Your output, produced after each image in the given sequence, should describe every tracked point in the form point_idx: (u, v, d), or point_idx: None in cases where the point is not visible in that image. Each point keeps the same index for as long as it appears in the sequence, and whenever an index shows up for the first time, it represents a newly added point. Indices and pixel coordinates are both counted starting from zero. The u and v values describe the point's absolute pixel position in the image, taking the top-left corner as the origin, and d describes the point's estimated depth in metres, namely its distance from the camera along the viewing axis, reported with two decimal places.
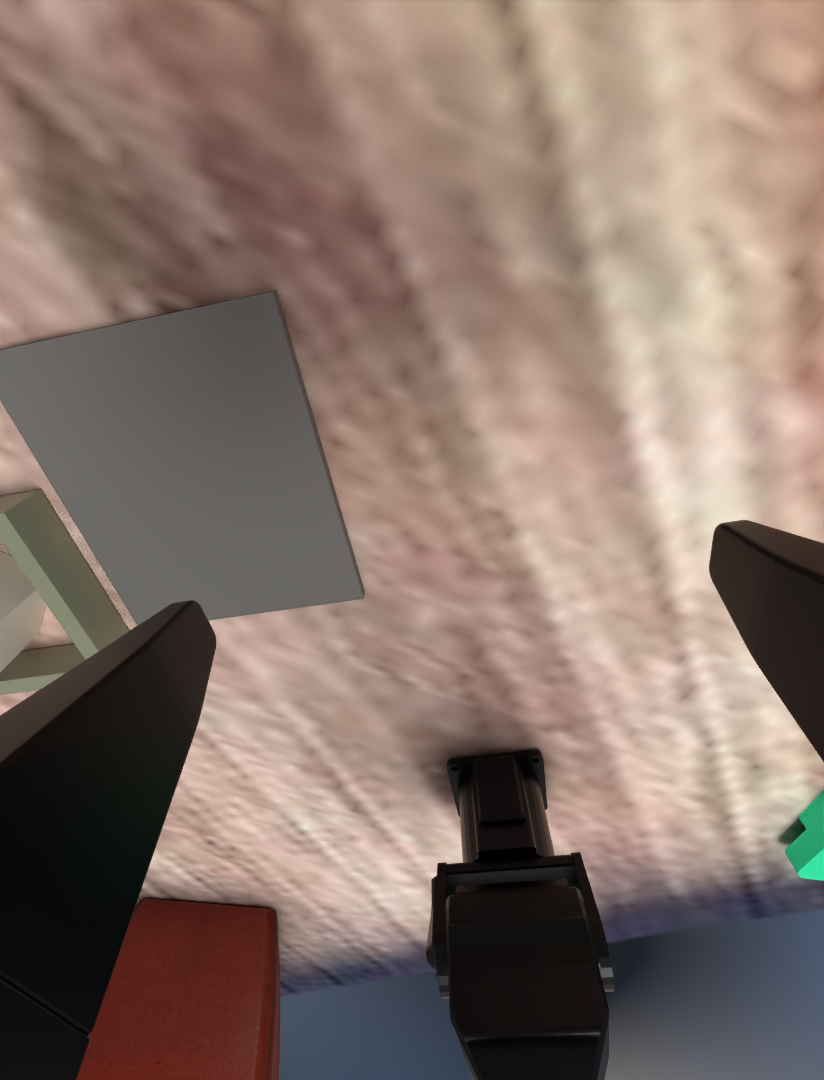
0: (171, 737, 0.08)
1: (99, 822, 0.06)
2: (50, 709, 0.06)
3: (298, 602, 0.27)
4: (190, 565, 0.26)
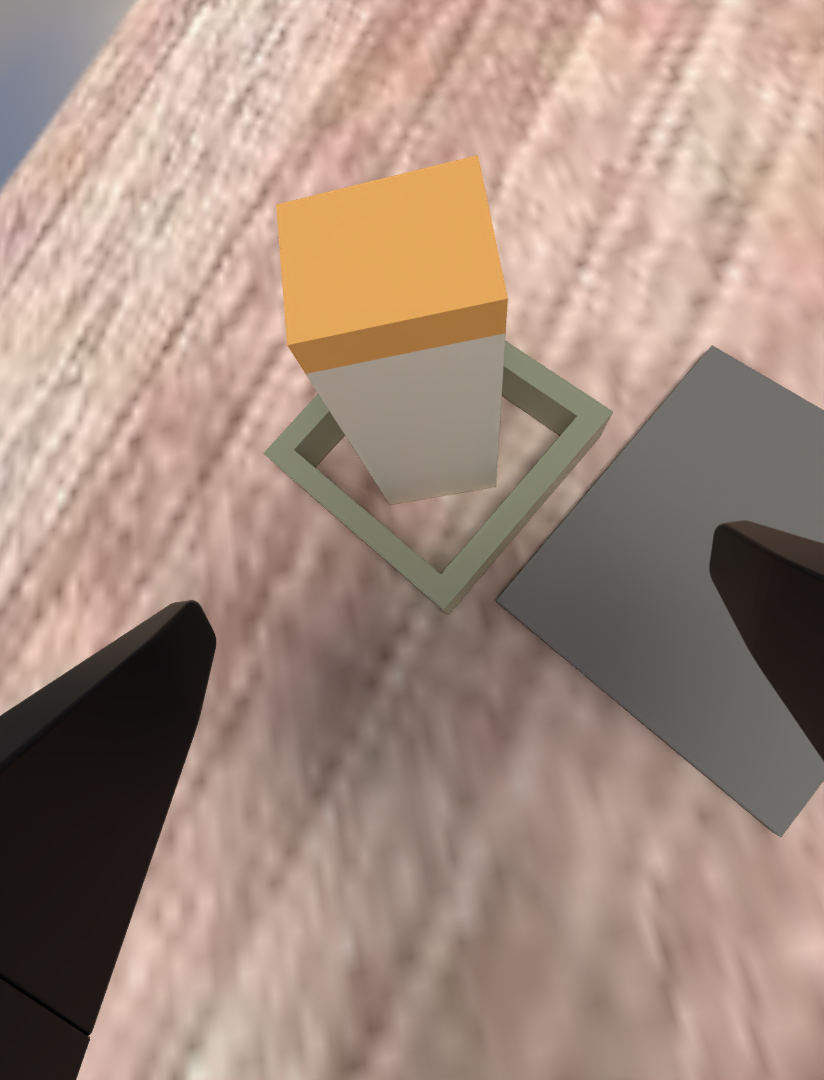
0: (171, 737, 0.08)
1: (99, 822, 0.06)
2: (50, 709, 0.06)
3: (700, 757, 0.19)
4: (644, 607, 0.20)
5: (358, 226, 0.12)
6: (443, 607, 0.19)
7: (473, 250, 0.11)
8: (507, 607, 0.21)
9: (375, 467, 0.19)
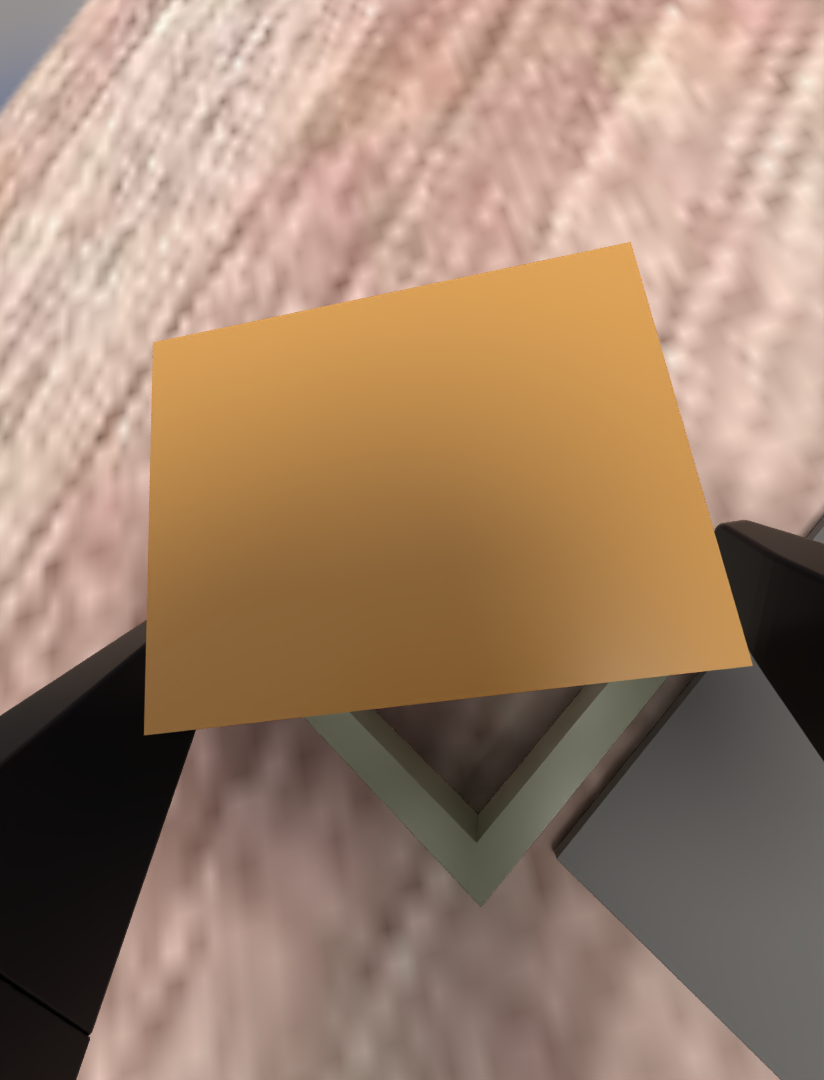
0: (171, 737, 0.08)
1: (99, 822, 0.06)
2: (50, 709, 0.06)
3: None
4: (790, 891, 0.13)
5: (337, 410, 0.05)
6: (480, 902, 0.12)
7: (638, 502, 0.04)
8: (574, 872, 0.14)
9: None
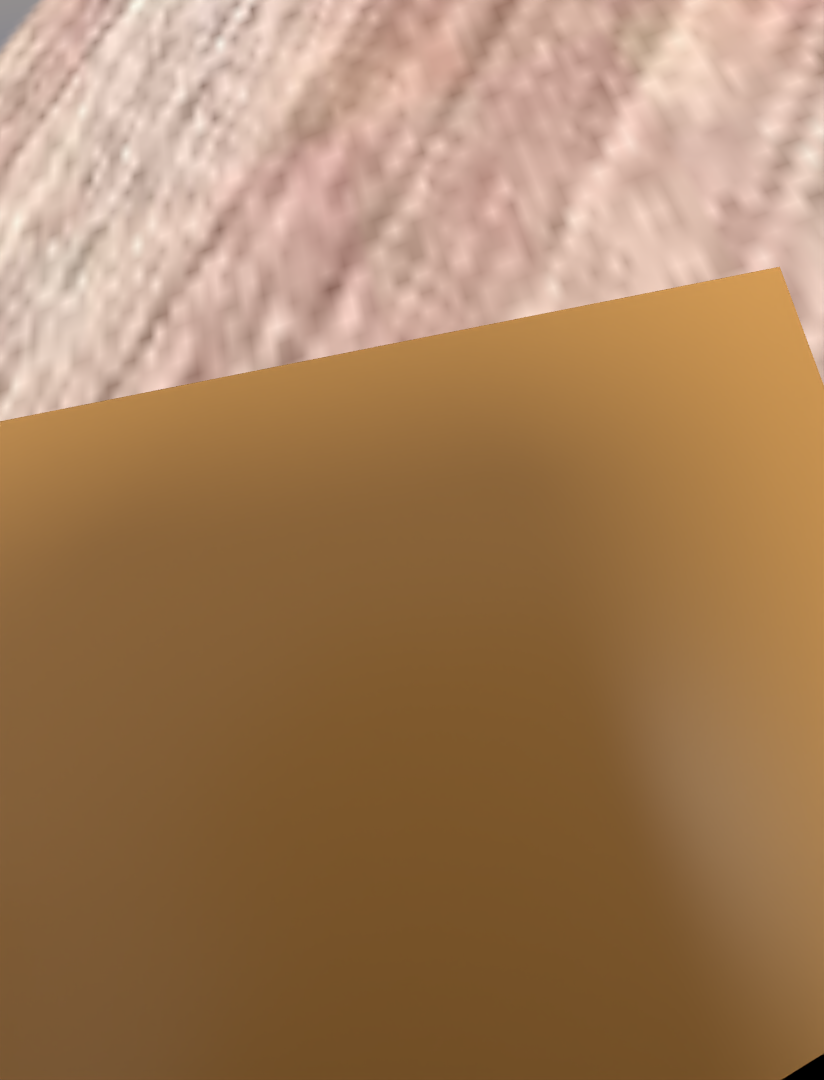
0: None
1: None
2: None
3: None
4: None
5: (283, 552, 0.03)
6: None
7: None
8: None
9: None
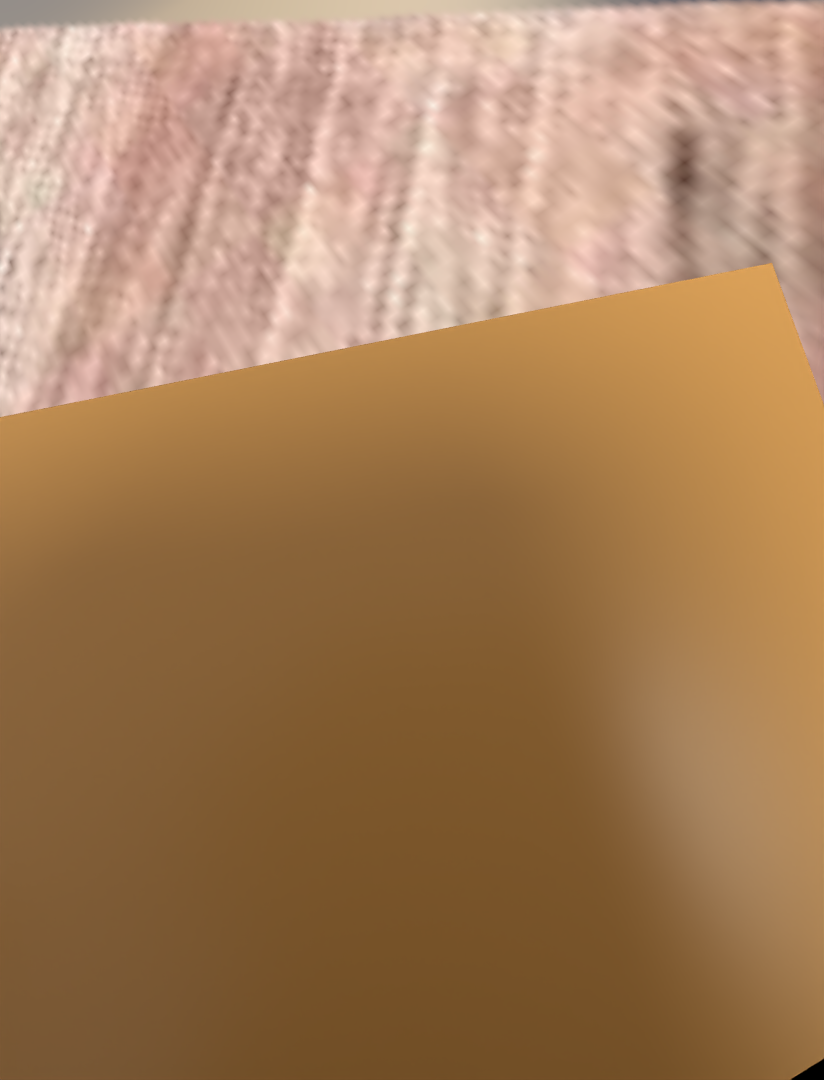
0: None
1: None
2: None
3: None
4: None
5: (278, 547, 0.03)
6: None
7: (822, 756, 0.02)
8: None
9: None
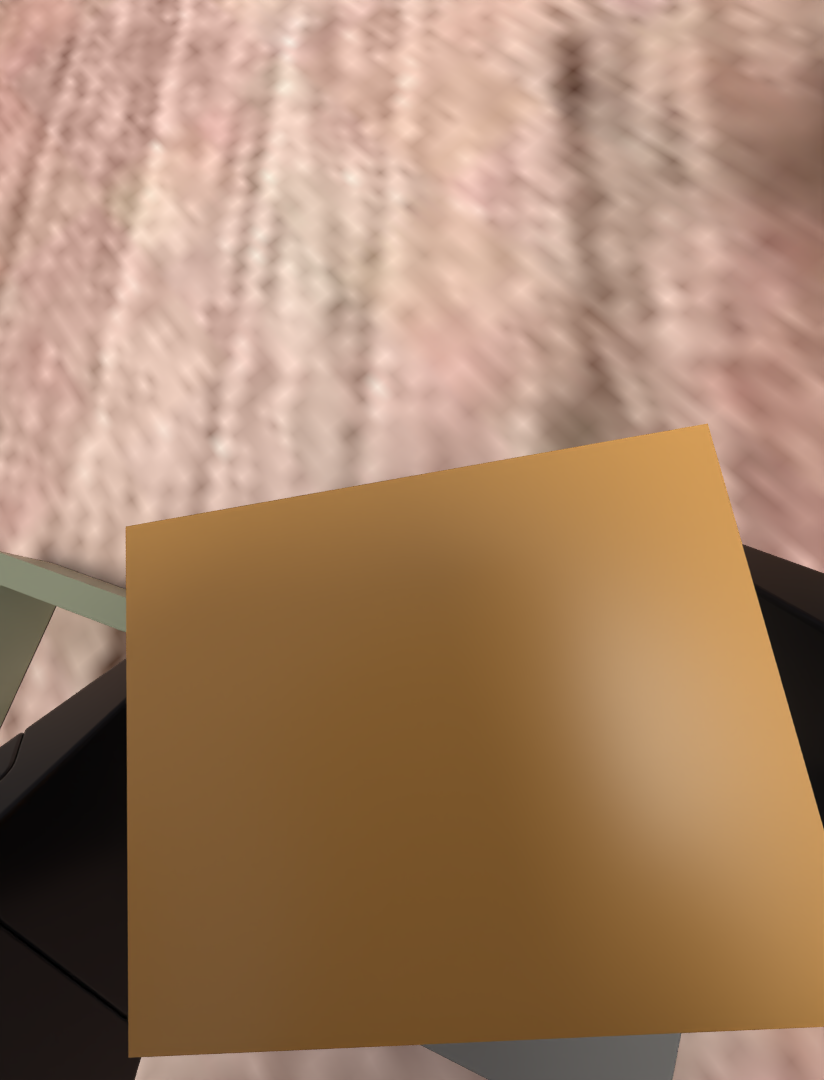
0: None
1: None
2: (105, 702, 0.06)
3: None
4: None
5: (350, 633, 0.04)
6: None
7: (727, 785, 0.03)
8: None
9: None
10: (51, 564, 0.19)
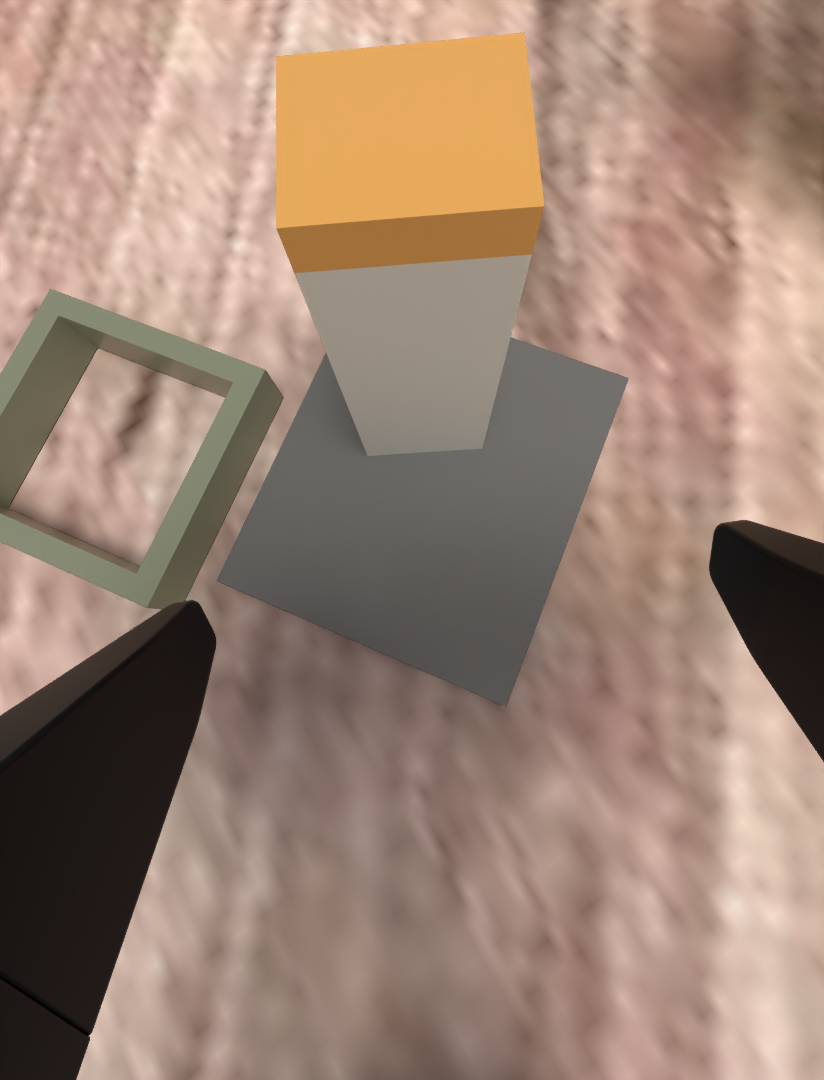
0: (171, 737, 0.08)
1: (99, 822, 0.06)
2: (50, 709, 0.06)
3: (426, 662, 0.20)
4: (351, 543, 0.21)
5: (374, 97, 0.10)
6: (146, 605, 0.19)
7: (509, 144, 0.09)
8: (228, 584, 0.21)
9: (358, 408, 0.17)
10: None
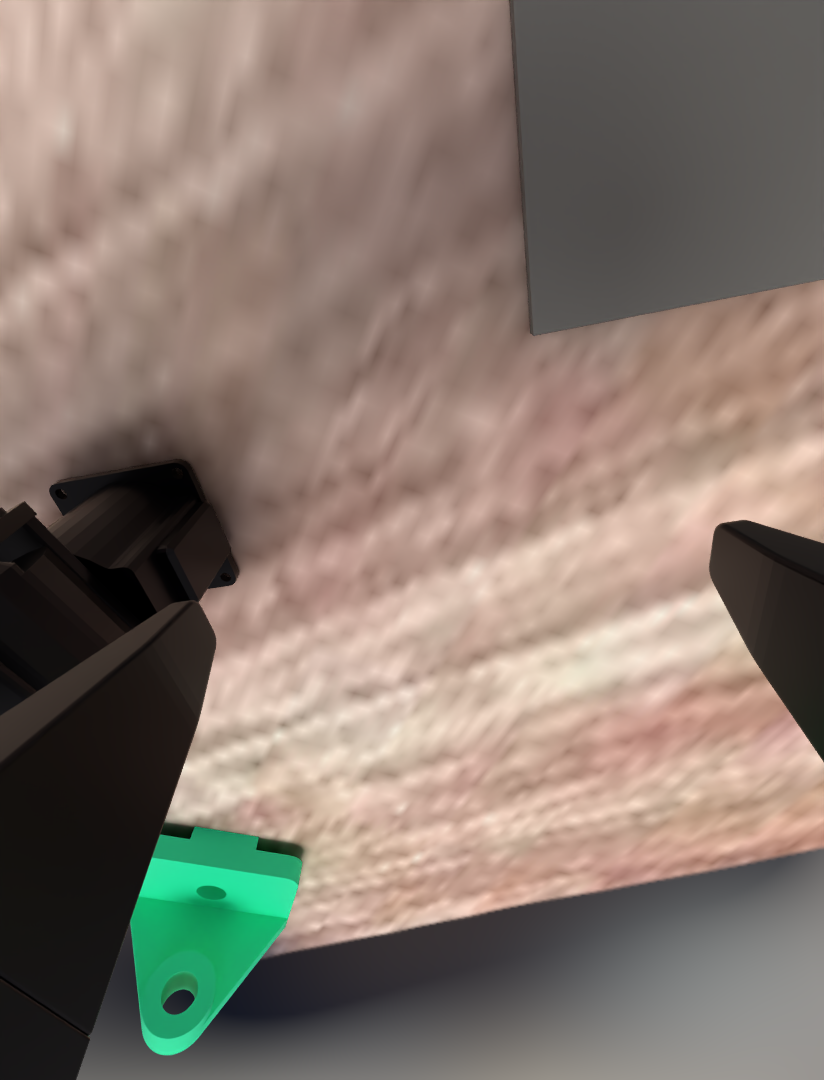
0: (171, 737, 0.08)
1: (99, 822, 0.06)
2: (50, 709, 0.06)
3: (537, 221, 0.16)
4: None
5: None
6: None
7: None
8: None
9: None
10: None
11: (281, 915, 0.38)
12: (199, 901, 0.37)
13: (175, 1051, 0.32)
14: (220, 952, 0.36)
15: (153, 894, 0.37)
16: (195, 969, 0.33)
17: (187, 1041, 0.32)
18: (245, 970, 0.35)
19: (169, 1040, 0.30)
